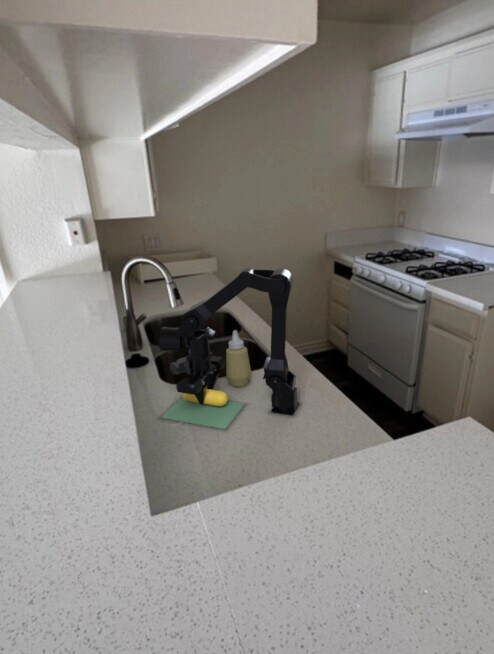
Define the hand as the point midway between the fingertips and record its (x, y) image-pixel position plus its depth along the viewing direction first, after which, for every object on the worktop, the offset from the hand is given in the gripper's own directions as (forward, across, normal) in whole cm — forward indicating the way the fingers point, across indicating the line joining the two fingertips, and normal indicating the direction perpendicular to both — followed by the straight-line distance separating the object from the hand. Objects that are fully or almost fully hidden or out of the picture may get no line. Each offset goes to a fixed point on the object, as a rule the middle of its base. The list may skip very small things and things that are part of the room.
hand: (205, 399), depth 122 cm
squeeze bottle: (+2, -15, +4) cm, 16 cm away
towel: (+2, +3, +1) cm, 4 cm away
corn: (+1, 0, 0) cm, 1 cm away
